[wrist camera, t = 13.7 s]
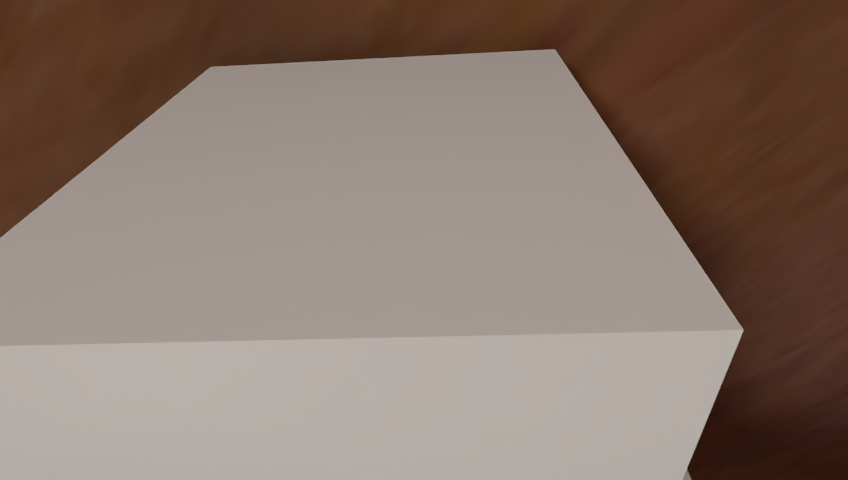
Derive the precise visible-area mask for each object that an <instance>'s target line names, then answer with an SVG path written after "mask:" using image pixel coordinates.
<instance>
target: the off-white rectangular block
mask: <svg viewBox="0 0 848 480" xmlns="http://www.w3.org/2000/svg"><path fill="white" fill-rule="evenodd" d="M742 333H743V328H742V327H741V325H740V324H739V322H738V321H737V319H736V318H735V316H734V315H733V313H732V312H731V311H730V309H729V308H728V306H727V305H726V303H725V302H724V300H723V299H722V297H721V296H720V294H719V293H718V291H717V290H716V288H715V287H714V285H713V284H712V282H711V281H710V279H709V278H708V276H707V275H706V273H705V272H704V270H703V269H702V267H701V266H700V264H699V263H698V261H697V260H696V258H695V257H694V255H693V254H692V252H691V251H690V250H689V248H688V247H687V245H686V244H685V242H684V241H683V239H682V238H681V236H680V235H679V233H678V232H677V230H676V229H675V227H674V226H673V224H672V223H671V221H670V220H669V218H668V217H667V215H666V214H665V212H664V211H663V209H662V208H661V206H660V205H659V203H658V202H657V200H656V199H655V197H654V196H653V194H652V193H651V191H650V190H649V189H648V187H647V186H646V184H645V183H644V181H643V180H642V178H641V177H640V175H639V174H638V172H637V171H636V169H635V168H634V166H633V165H632V163H631V162H630V160H629V159H628V157H627V156H626V154H625V153H624V151H623V150H622V148H621V147H620V145H619V144H618V142H617V141H616V139H615V138H614V136H613V135H612V133H611V132H610V130H609V129H608V128H607V126H606V125H605V123H604V122H603V120H602V119H601V117H600V116H599V114H598V113H597V111H596V110H595V108H594V107H593V105H592V104H591V102H590V101H589V99H588V98H587V96H586V95H585V93H584V92H583V90H582V89H581V87H580V86H579V84H578V83H577V81H576V80H575V78H574V77H573V75H572V74H571V72H570V71H569V69H568V68H567V66H566V65H565V64H564V62H563V61H562V59H561V58H560V56H559V55H558V53H557V52H556V50H555V49H550V50H531V51H511V52H492V53H472V54H453V55H433V56H414V57H394V58H375V59H355V60H336V61H316V62H297V63H277V64H258V65H238V66H219V67H210V68H209V69H208V70H206V71H205V72H204V73H203V74H201V75H200V76H199V77H198V78H196V79H195V80H194V81H193V82H192V83H190V84H189V85H188V86H187V87H185V88H184V89H183V90H182V91H180V92H179V93H178V94H177V95H176V96H174V97H173V98H172V99H171V100H169V101H168V102H167V103H166V104H164V105H163V106H162V107H161V108H160V109H158V110H157V111H156V112H155V113H153V114H152V115H151V116H150V117H149V118H147V119H146V120H145V121H144V122H142V123H141V124H140V125H139V126H137V127H136V128H135V129H134V130H133V131H131V132H130V133H129V134H128V135H126V136H125V137H124V138H123V139H121V140H120V141H119V142H118V143H117V144H115V145H114V146H113V147H112V148H110V149H109V150H108V151H107V152H105V153H104V154H103V155H102V156H101V157H99V158H98V159H97V160H96V161H94V162H93V163H92V164H91V165H89V166H88V167H87V168H86V169H85V170H83V171H82V172H81V173H80V174H78V175H77V176H76V177H75V178H73V179H72V180H71V181H70V182H69V183H67V184H66V185H65V186H64V187H62V188H61V189H60V190H59V191H57V192H56V193H55V194H54V195H53V196H51V197H50V198H49V199H48V200H46V201H45V202H44V203H43V204H41V205H40V206H39V207H38V208H37V209H35V210H34V211H33V212H32V213H30V214H29V215H28V216H27V217H25V218H24V219H23V220H22V221H21V222H19V223H18V224H17V225H16V226H14V227H13V228H12V229H11V230H9V231H8V232H7V233H6V234H5V235H3V236H2V237H1V238H0V480H683V477H684V475H685V472H686V470H687V468H688V465H689V463H690V460H691V458H692V455H693V453H694V450H695V448H696V445H697V443H698V441H699V438H700V436H701V433H702V431H703V428H704V426H705V423H706V421H707V419H708V416H709V414H710V411H711V409H712V406H713V404H714V401H715V399H716V396H717V394H718V392H719V389H720V387H721V384H722V382H723V379H724V377H725V374H726V372H727V370H728V367H729V365H730V362H731V360H732V357H733V355H734V352H735V350H736V348H737V345H738V343H739V340H740V338H741V335H742Z"/></svg>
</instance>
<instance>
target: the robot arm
mask: <svg viewBox="0 0 848 480" xmlns="http://www.w3.org/2000/svg"><path fill="white" fill-rule="evenodd" d="M683 480H692V479H691V476H690V474H689V472H688V469H687V470H686V472H685V475H684V477H683Z"/></svg>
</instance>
